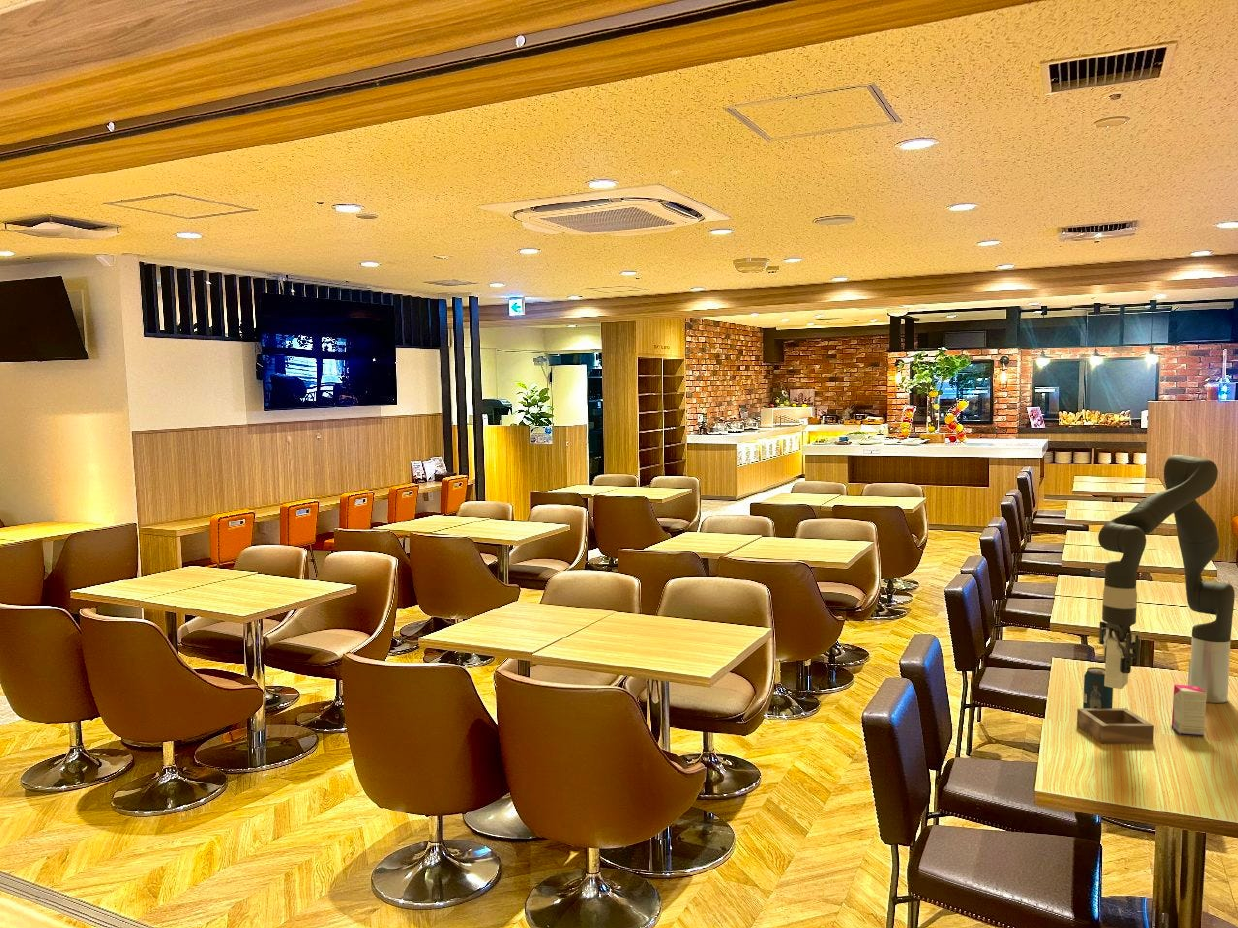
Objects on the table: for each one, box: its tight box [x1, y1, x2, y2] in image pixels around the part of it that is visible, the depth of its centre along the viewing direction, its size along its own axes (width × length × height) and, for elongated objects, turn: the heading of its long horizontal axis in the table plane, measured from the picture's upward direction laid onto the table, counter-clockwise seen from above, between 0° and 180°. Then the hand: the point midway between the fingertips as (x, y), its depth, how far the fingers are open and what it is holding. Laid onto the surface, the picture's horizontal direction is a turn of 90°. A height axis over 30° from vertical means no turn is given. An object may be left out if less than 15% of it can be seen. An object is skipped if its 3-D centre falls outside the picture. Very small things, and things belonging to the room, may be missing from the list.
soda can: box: [1082, 666, 1114, 708], centre depth 250 cm, size 7×7×12 cm
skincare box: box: [1104, 637, 1129, 690], centre depth 234 cm, size 6×4×12 cm
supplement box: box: [1171, 684, 1207, 738], centre depth 237 cm, size 6×6×12 cm
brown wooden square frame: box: [1076, 707, 1155, 745], centre depth 236 cm, size 13×13×4 cm
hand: (1116, 668), depth 234 cm, fingers closed on skincare box, 7 cm apart
